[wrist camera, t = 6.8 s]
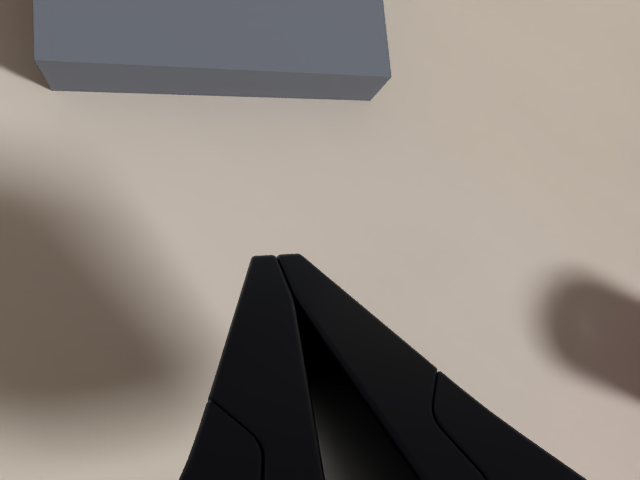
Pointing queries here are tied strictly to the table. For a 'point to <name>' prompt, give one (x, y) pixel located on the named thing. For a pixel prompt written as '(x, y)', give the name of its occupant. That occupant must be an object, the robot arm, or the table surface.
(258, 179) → the table surface
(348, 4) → the tile
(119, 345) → the table surface
